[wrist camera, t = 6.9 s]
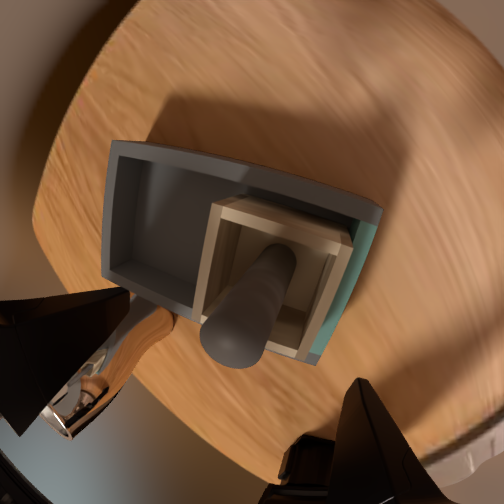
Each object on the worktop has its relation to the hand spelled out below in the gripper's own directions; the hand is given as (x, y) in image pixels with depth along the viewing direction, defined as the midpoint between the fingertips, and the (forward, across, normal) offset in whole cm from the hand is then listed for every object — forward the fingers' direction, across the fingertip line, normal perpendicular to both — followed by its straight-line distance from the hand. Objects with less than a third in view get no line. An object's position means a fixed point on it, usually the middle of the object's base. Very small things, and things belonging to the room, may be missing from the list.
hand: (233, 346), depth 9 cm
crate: (+10, 0, 0) cm, 10 cm away
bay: (+11, +4, 0) cm, 12 cm away
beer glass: (+11, +11, +10) cm, 19 cm away
